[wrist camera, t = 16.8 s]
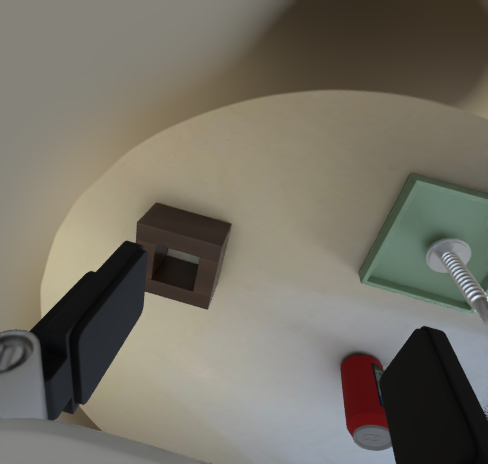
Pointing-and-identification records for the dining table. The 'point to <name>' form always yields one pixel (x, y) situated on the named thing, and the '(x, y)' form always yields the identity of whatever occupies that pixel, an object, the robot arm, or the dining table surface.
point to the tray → (429, 242)
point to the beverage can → (364, 402)
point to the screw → (458, 271)
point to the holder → (188, 241)
